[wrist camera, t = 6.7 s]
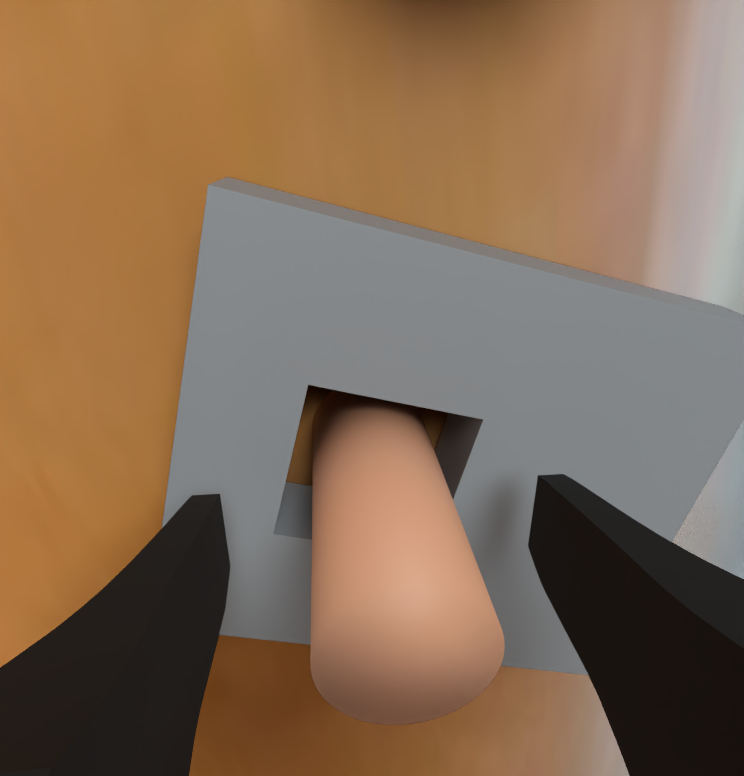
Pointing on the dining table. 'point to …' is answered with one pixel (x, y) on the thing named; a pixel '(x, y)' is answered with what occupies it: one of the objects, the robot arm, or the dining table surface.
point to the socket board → (436, 392)
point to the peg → (392, 571)
